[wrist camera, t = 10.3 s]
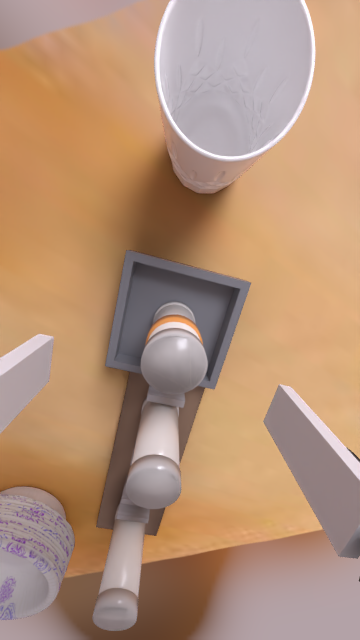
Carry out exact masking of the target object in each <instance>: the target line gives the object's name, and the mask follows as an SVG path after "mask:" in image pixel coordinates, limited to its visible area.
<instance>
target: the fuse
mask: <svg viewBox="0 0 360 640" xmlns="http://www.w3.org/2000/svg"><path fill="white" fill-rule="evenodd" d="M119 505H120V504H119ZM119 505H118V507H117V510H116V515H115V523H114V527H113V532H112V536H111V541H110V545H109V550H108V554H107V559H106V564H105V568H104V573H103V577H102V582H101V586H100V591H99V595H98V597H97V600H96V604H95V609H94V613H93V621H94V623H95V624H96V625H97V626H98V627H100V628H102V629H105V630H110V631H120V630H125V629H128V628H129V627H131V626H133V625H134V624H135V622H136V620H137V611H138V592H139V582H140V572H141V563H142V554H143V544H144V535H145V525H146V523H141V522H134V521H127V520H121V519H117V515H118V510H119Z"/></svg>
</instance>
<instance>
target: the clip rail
mask: <svg viewBox="0 0 360 640" xmlns="http://www.w3.org/2000/svg"><path fill="white" fill-rule="evenodd" d="M204 389H205V387H201V386H196V387H195V388H194V389H192V390H190V391H188V392H185V393H181V394H166V393H163V392H160V391H158V390H156V389H154V388H153V387H152V386H150V385H149V384H148V382H147V381H146V380H145V378H144V376H143V374H140V373H135V372H130V374H129V379H128V384H127V388H126V393H125V397H124V402H123V406H122V411H121V416H120V420H119V425H118V429H117V434H116V438H115V443H114V448H113V452H112V457H111V461H110V466H109V470H108V475H107V480H106V484H105V489H104V493H103V498H102V503H101V507H100V512H99V516H98V521H97V525H96V527H99V528H106V529H112V530H113V527H114V523H115V515H116V510H117V507H118V505H119V504H120V505H119V510H118V515H117V519H121V520H127V521H134V522H141V523H146V525H145V534H147V535H154V536H156V534H157V531H158V528H159V525H160V522H161V519H162V516H163V513H164V510H165V507H164V508H160V509H147V508H143V507H140V506H138V505H136V504H134V503H133V502H132V501H131V500H130V499H129V498H128V496H127V494H126V483H127V478H128V473H129V469H130V467H131V464H132V459H133V454H134V449H135V444H136V439H137V434H138V429H139V424H140V419H141V410H142V405H143V401H144V399H145V398H146V397H147V399H146V401H151V402H156V403H161V404H166V405H171V406H176V407H179V417H178V428H179V465H180V462H181V459H182V456H183V453H184V449H185V446H186V443H187V440H188V437H189V434H190V431H191V428H192V425H193V422H194V419H195V416H196V413H197V410H198V407H199V404H200V401H201V398H202V395H203V392H204Z"/></svg>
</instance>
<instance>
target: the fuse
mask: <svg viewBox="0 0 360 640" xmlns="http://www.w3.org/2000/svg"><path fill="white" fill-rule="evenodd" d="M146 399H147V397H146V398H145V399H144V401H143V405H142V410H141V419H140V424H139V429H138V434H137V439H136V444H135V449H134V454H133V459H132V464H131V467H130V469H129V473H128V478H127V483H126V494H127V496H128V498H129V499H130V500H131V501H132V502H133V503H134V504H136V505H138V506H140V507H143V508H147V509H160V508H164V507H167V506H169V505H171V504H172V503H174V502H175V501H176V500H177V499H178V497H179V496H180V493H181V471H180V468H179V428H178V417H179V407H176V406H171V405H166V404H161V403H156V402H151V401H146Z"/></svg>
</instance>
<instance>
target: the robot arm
mask: <svg viewBox="0 0 360 640" xmlns="http://www.w3.org/2000/svg"><path fill="white" fill-rule="evenodd" d="M53 341H54V337H52V336H48V335H43V334H38V335H36V336H35V337H33V338H31V339H30V340H28V341H27V342H25V343H23V344H22V345H20V346H19V347H17V348H15V349H14V350H12V351H11V352H9V353H7V354H6V355H4V356H3V357H1V358H0V433H1V432H2V431H3V430H4V429H5V428H6V427H7V426H8V425H9V424H10V423H11V422H12V420H13V419H14V418H15V417H16V416H17V415H18V414H19V413H20V412H21V411H22V410H23V409H24V408H25V406H26V405H27V404H28V403H29V402H30V401H31V400H32V399H33V398H34V397H35V396H36V395H37V394H38V393H39V391H40V390H41V389H42V388H43V387H44V386H45V385H46V384H47V383H48V382H49V377H50V368H51V359H52V350H53ZM263 422H264V424H265V426H266V427H267V429H268V431H269V433H270V435H271V436H272V438H273V440H274V442H275V443H276V445H277V447H278V449H279V451H280V452H281V454H282V456H283V458H284V460H285V461H286V463H287V465H288V467H289V469H290V470H291V472H292V474H293V476H294V477H295V479H296V481H297V483H298V485H299V486H300V488H301V490H302V492H303V494H304V495H305V497H306V499H307V501H308V502H309V504H310V506H311V508H312V510H313V511H314V513H315V515H316V517H317V519H318V520H319V522H320V524H321V526H322V528H323V529H324V531H325V533H326V535H327V536H328V538H329V540H330V542H331V544H332V545H333V547H334V549H335V551H336V552H337V554H338V556H340V557H349V558H358V557H359V556H360V459H359V458H358V457H357V456H356V455H355V454H354V453H353V452H352V451H350V450H349V449H348V448H347V447H345V446H344V445H343V444H342V443H341V441H340V440H339V439H338V438H337V437H336V436H335V435H334V434H333V433H332V432H331V430H330V429H329V428H328V427H327V426H326V425H325V424H324V423H323V422H322V421H321V419H320V418H319V417H318V416H317V415H316V414H315V413H314V412H313V411H312V410H311V408H310V407H309V406H308V405H307V404H306V403H305V402H304V401H303V400H302V399H301V397H300V396H299V395H298V394H297V393H296V392H295V391H294V390H293V389H292V388H291V387H289V386H285V385H280V384H279V386H278V388H277V391H276V393H275V395H274V398H273V400H272V402H271V405H270V407H269V409H268V412H267V414H266V416H265V419H264V421H263ZM359 581H360V579H359Z"/></svg>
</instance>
